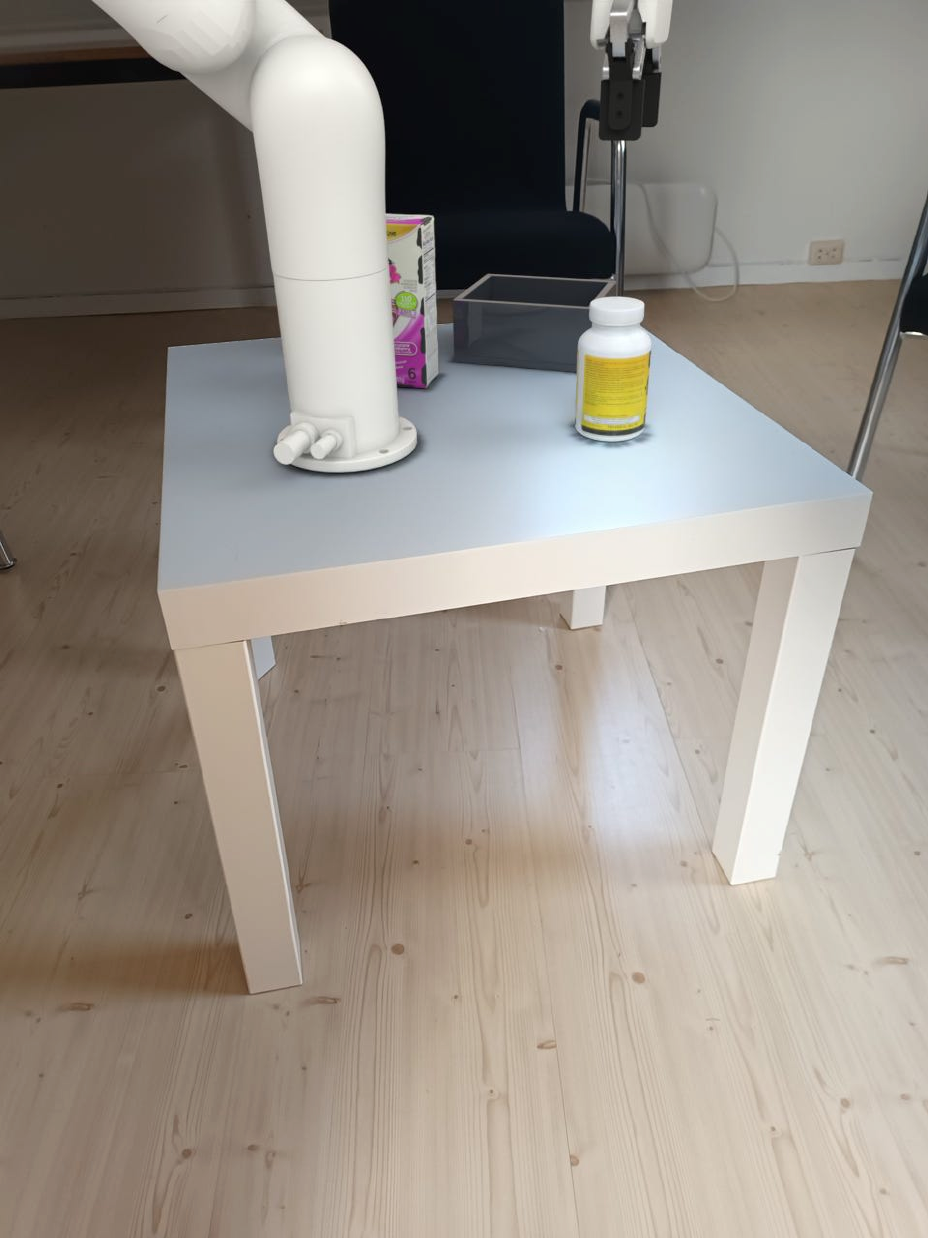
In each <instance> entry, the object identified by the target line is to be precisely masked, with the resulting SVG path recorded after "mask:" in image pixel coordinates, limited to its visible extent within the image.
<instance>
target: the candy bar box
mask: <svg viewBox="0 0 928 1238" xmlns="http://www.w3.org/2000/svg"><path fill="white" fill-rule="evenodd" d="M386 232H387V248H388V263H389V273H390V289H391V305H392V320H393V336H394V352H395V367H396V383H397V387H401V388H402V387H404V388H416V389H417V388H418V389H427V388H428V387H430V385H431V384H432V382H433V381H434V380H435V379H436V378H437V377H438V376H439V374H440V373H439V370H440V369H439V367H440V365H439V364H440V363H439V342H438V341H439V340H438V339H439V338H438V337H439V335H438V334H439V333H438V311H437V310H438V305H437V303H438V302H437V273H436V234H435V217H434V215H430V214H407V213H386Z"/></svg>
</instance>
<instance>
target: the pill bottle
mask: <svg viewBox="0 0 928 1238" xmlns="http://www.w3.org/2000/svg"><path fill="white" fill-rule="evenodd" d="M644 318H645V303H644V301H642V300H640V299H637V298H634V297H629V296H616V297H603V298H598V299H595V300H593V301H591V303H590V310H589V319H590V321H591V322H592V328H590V329H588V330H587V331H586V332H584V333H583V334H582V335H581V337H580V339H579V341H578V352H577V372H576V380H575V381H576V385H575V408H574V409H575V410H574V427H575V429H576V431H577V432H578V433H579V434H580V435H581V436H583V437H585V438H588V439H590V440H594V441H601V442H623V441H628V440H632V439H635V438H636V437H638V436H640V435H641V434H642V433H643V431H644V429H645V426H646V415H647V406H648V405H647V404H648V392H649V379H650V369H651V368H650V367H651V357H652V339H651V337H650V336H649V334H648V333H647V332H646V331H645V330H643V329H642V328H641V323H642V322H643V320H644Z"/></svg>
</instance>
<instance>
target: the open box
mask: <svg viewBox="0 0 928 1238" xmlns="http://www.w3.org/2000/svg"><path fill="white" fill-rule="evenodd" d="M603 297H617V280H603V279H588V278H587V279H586V278H571V277H570V278H568V277H550V276H533V275H515V274H514V275H513V274H499V273H498V274H497V273H496V274H495V273H487V274H485V275H484V276H483V277H481V278H480V279H479V280H477V281H476V282H475V283H474V284H472V285H471V286H470V287H468V288H467V289H466V290H464V291H463V292H461V293H460V294H458V296H456V297H455V298H454V299H452V331H453V362H454V363H462V364H463V363H465V364H474V365H475V364H477V365H488V366H497V367H498V366H499V367H510V368H512V367H513V368H524V369H534V370H546V371H556V372H557V371H558V372H559V371H560V372H570V373H577V352H578V341H579V339H580V337H581V335H582V334H583V333H584V332H586V331H587V330H588V329H590V328H592V322H591V321H590V319H589V310H590V303H591V301H593V300H595V299H598V298H603Z"/></svg>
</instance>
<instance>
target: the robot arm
mask: <svg viewBox="0 0 928 1238" xmlns="http://www.w3.org/2000/svg"><path fill="white" fill-rule="evenodd" d="M91 1H92V2H93V3H94V4H95V5H97V6H98V7H99V8H100V9H101V10H103V11H104V13H106V14H107V15H108V16H109V17H110V18H112V19H113V20H114V21H115V22H116V23H117V24H118V25H120V26H121V28H123V29H124V30H125V31H126V32H127V33H128V34H129V35H130V36H132V38H133V39H134V40H135V41H136V42H137V43H138V44H139V45H140V46H141V47H142V48H143V50H144V51H146V53H147V54H148V55H150V56H151V57H152V58H153V59H154V60H155V61H157V62H158V63H160V64H161V65H163V66H165V67H167V68H169V69H171V70H173V71H175V72H179V73H180V74H181V75H182V76H183V77H185V79H187V80H189V82H191V83H192V84H193V85H194V86H195V87H197V88H198V89H199V90H200V91H202V92H203V93H204V94H205V95H206V96H208V97H209V98H210V99H211V100H212V101H213V102H215V103H216V104H217V105H219V106H220V107H221V108H222V109H223V110H224V111H226V112H227V113H228V114H229V115H230V116H232V117H233V118H234V119H235V120H236V121H238V122H239V123H240V124H241V125H243V126H244V127H245V128H246V129H248V130H249V131H250V132H251V133H252V135H253V141H254V149H255V154H256V161H257V169H258V176H259V182H260V190H261V191H260V192H261V196H262V197H261V198H262V206H263V213H264V221H265V229H266V237H267V245H268V251H269V252H268V253H269V259H270V268H271V272H272V278H273V286H274V292H275V293H274V294H275V300H276V309H277V316H278V324H279V331H280V339H281V346H282V347H281V348H282V354H283V360H284V361H283V363H284V370H285V378H286V386H287V392H288V400H289V407H290V413H289V420H290V424H289V425H287V426H286V427H285V428H283V429H282V430H281V432H280V433H279V434H278V436H277V440H276V444H275V445H274V446H273V456H274V457H275V460H276V461H277V462H279V463H280V464H282V465H284V466H285V465H292V466H293V467H298V468H299V469H302V470H308V471H312V472H320V473H338V474H339V473H342V474H343V473H356V472H363V471H369V470H373V469H379V468H382V467H385V466H388V465H392V464H394V463H396V462H398V461H400V460H403V459H404V458H406V457H407V456H408V455H410V454H411V453H412V452H413V451H414V450H415V449H416V446H417V444H418V431H417V428H416V426H415V425H414V424H413V423H412V422H411V421H410V420H408V419H406V418H405V417H403V416H401V415H399V400H398V386H397V383H396V367H395V352H394V336H393V320H392V305H391V289H390V273H389V263H388V248H387V232H386V214H387V213H386V131H385V119H384V111H383V105H382V101H381V98H380V95H379V91H378V88H377V86H376V83H375V81H374V78H373V77H372V75H371V73H370V71H369V70H368V68H367V67H366V65H365V64H364V63H363V61H362V60H361V59H360V58H359V56H357V54H355V53H354V52H353V51H352V50H351V49H349V48H348V47H347V46H345V45H344V44H342V43H340V42H338V41H336V40H334V39H332V38H328V37H325V36H324V34H322V33H321V32H320V31H319V30H318V29H316V27H314V26H313V25H312V24H311V23H310V22H309V21H308V20H307V19H306V18H305V17H304V16H303V15H302V14H300V12H298V11H297V10H296V9H295V8H294V7H293V6H292V5H291V4H290V3H289V2H288V1H286V0H91ZM672 11H673V0H592V4H591V16H590V17H591V19H590V31H589V32H590V33H589V41H590V44H591V46H592V47H593V48H594V49H595V50H597V51H600V50H601V51H603V50H604V51H605V53H604V58H603V64H602V74H601V75H602V76H601V77H602V80H600V95H599V118H598V120H599V121H598V138H599V140H600V141H603V142H610V141H611V142H612V141H614V142H617V141H621V142H636V141H638V140H639V139H640V138H641V137H642V130H643V129H642V128H655V127H656V126H657V125H658V122H659V114H660V113H659V112H660V102H661V101H660V100H661V87H662V77H663V76H662V74H663V72H662V71H661V66H662V45H663V44H664V43H665V42H667V40H668V37H669V33H670V26H671V20H672V19H671V18H672Z"/></svg>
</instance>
